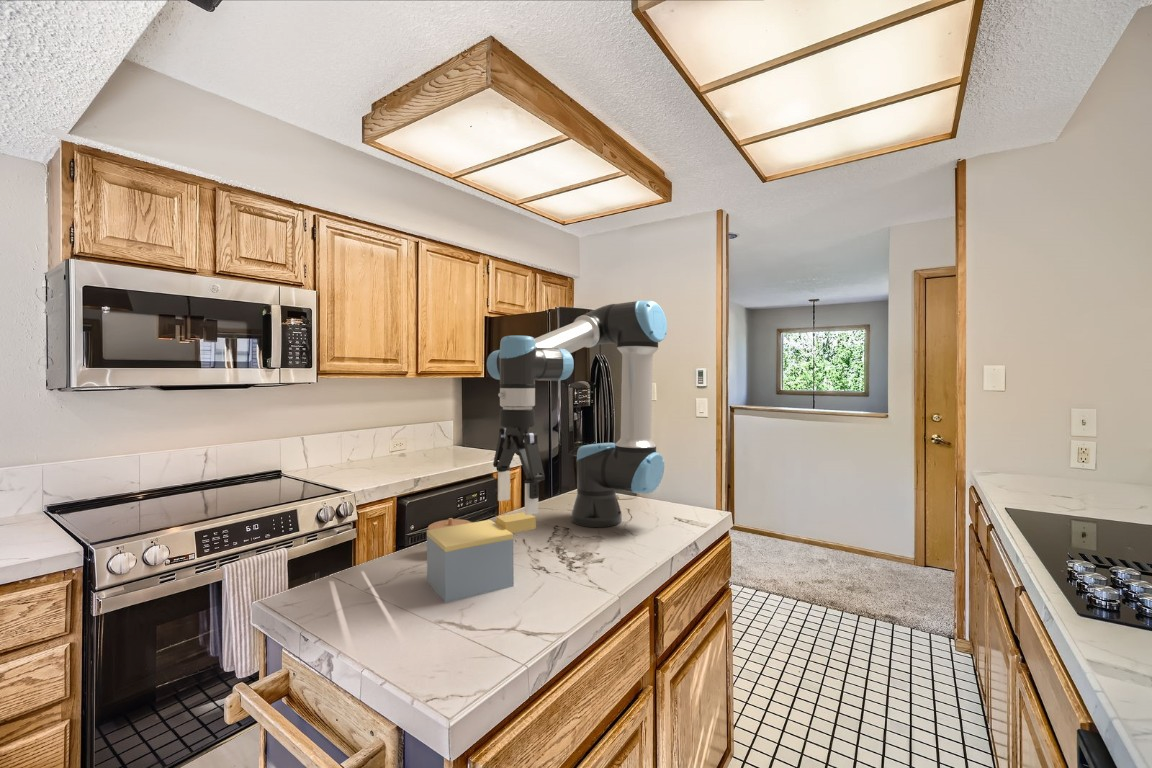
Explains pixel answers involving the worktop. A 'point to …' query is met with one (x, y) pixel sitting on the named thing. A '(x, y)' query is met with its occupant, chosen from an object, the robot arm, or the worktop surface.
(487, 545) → the tub
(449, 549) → the lid
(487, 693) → the worktop surface
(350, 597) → the worktop surface
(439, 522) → the lidded jar
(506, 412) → the robot arm
